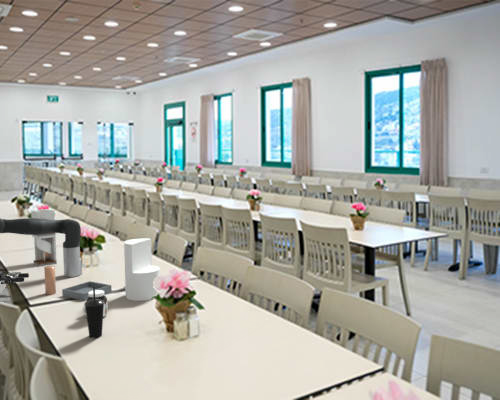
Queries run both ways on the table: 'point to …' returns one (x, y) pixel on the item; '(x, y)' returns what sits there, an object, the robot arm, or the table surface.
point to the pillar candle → (50, 280)
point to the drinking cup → (94, 316)
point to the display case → (44, 240)
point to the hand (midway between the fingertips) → (26, 277)
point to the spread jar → (98, 295)
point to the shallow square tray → (85, 290)
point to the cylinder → (139, 270)
